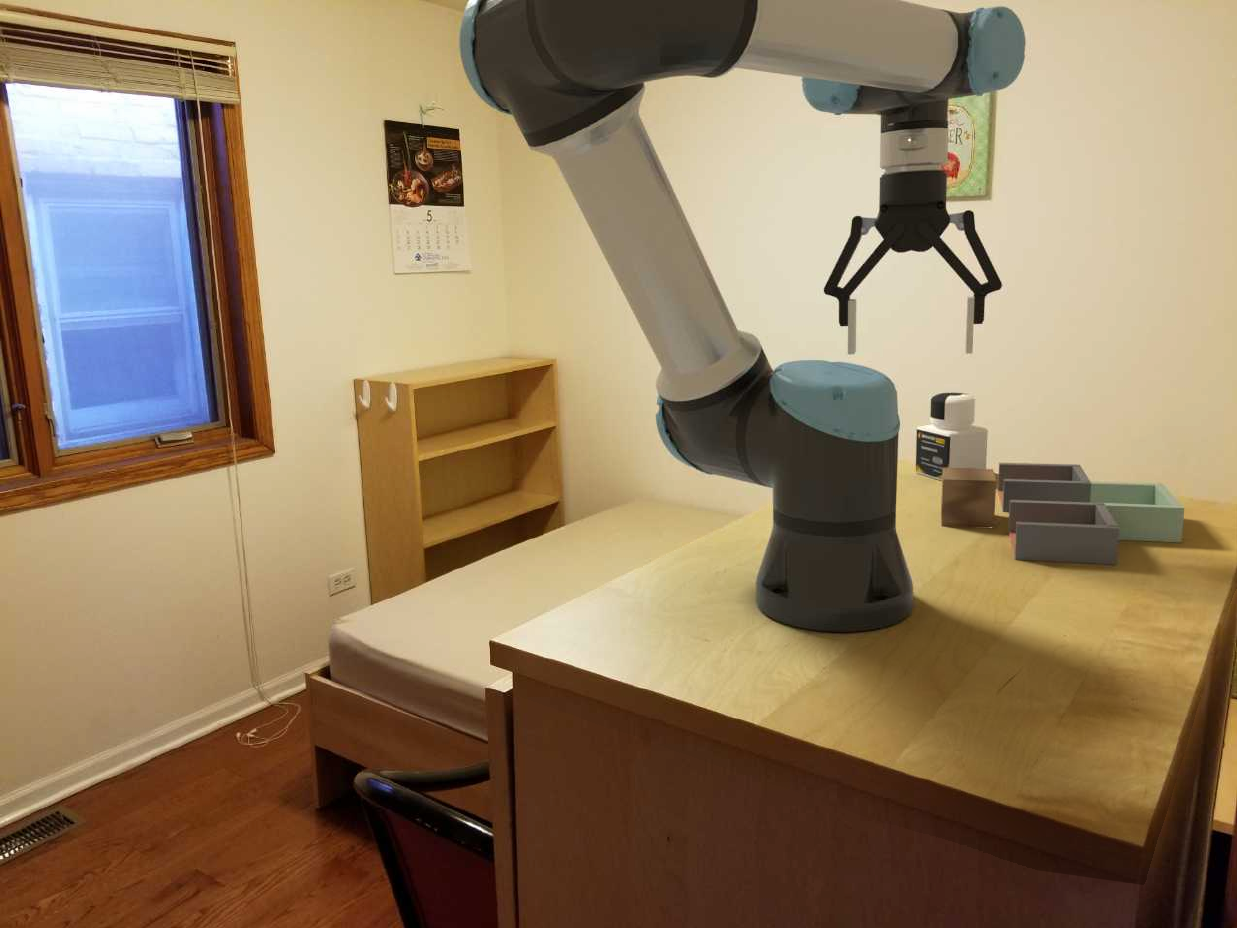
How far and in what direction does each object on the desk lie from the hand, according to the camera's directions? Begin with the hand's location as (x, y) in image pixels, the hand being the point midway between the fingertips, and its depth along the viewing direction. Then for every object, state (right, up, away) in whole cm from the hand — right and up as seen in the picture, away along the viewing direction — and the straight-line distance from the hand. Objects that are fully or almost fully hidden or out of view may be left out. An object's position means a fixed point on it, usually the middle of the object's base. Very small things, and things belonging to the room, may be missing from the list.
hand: (909, 352), depth 118 cm
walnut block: (+8, -21, +3) cm, 22 cm away
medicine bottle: (+13, -15, +25) cm, 32 cm away
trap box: (+21, -21, -1) cm, 30 cm away
